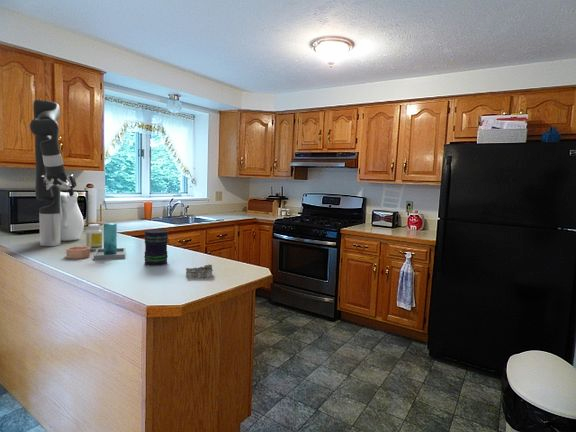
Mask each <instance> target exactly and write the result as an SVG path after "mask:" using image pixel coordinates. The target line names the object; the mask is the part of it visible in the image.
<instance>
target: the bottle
mask: <svg viewBox="0 0 576 432" xmlns="http://www.w3.org/2000/svg"><path fill="white" fill-rule="evenodd" d="M117 229H118V227H117V223H116V222H112V223H111V222H108V223H107V222H106V223H103V249H104V255H113V254H117V247H118V246H117V241H118V240H117V239H118V238H117V234H118V233H117V232H118V231H117Z"/></svg>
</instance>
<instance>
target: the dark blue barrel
mask: <svg viewBox="0 0 576 432" xmlns="http://www.w3.org/2000/svg"><path fill="white" fill-rule="evenodd" d="M168 235H169V234H168V230H166V229H147V230H144V245H145V247H144V248H145V249H144V250H145V251H144V256H143V257H144V265H145V266H148V265H149V267H161V266H165V265H168V241H169V240H168V239H169V237H168Z"/></svg>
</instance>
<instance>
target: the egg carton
mask: <svg viewBox="0 0 576 432" xmlns="http://www.w3.org/2000/svg"><path fill="white" fill-rule="evenodd" d="M213 271H214V269H213V265H212V264H206V265H204V266H199V267H191V268H190V267H187V268H186V269H185V278H188V279H192V278H197V279H201V278H206V279H208V278H212V277H213Z"/></svg>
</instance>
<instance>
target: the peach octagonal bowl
mask: <svg viewBox="0 0 576 432" xmlns="http://www.w3.org/2000/svg"><path fill="white" fill-rule="evenodd" d="M65 253H66V258H67V259H71V260H72V259H74V260H75V259H77V260H78V259H85V258H89V257H90V256H91V250H90V247H87V245H86V246H83V245H81V246H80V245H79V246H71V247H66V251H65Z"/></svg>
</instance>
